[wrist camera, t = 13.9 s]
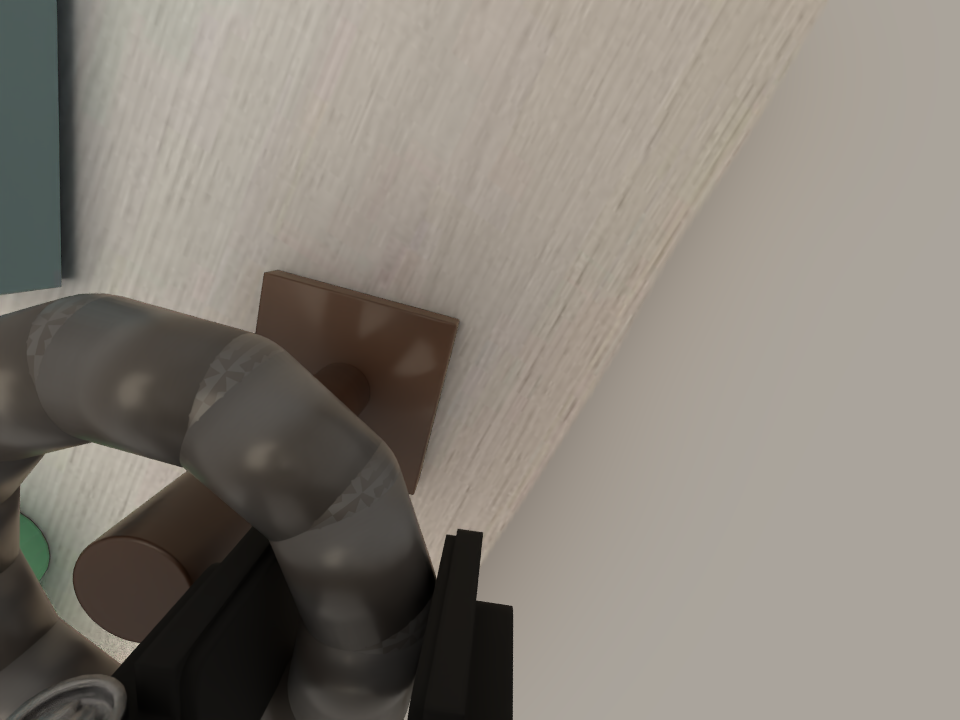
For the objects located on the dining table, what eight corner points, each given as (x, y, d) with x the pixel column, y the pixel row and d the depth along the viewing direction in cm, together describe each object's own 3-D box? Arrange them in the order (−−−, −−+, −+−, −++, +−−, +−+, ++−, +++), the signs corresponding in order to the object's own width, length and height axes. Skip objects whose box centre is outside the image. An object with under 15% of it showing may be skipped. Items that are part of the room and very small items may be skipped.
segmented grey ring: (-68, 224, 9) (-266, 224, 7) (500, 382, 9) (495, 436, 7) (-50, 670, 12) (-185, 776, 10) (380, 788, 12) (347, 922, 10)
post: (276, 269, 21) (-86, 337, 8) (460, 319, 21) (381, 462, 8) (251, 437, 23) (-67, 697, 10) (418, 482, 23) (304, 794, 10)
